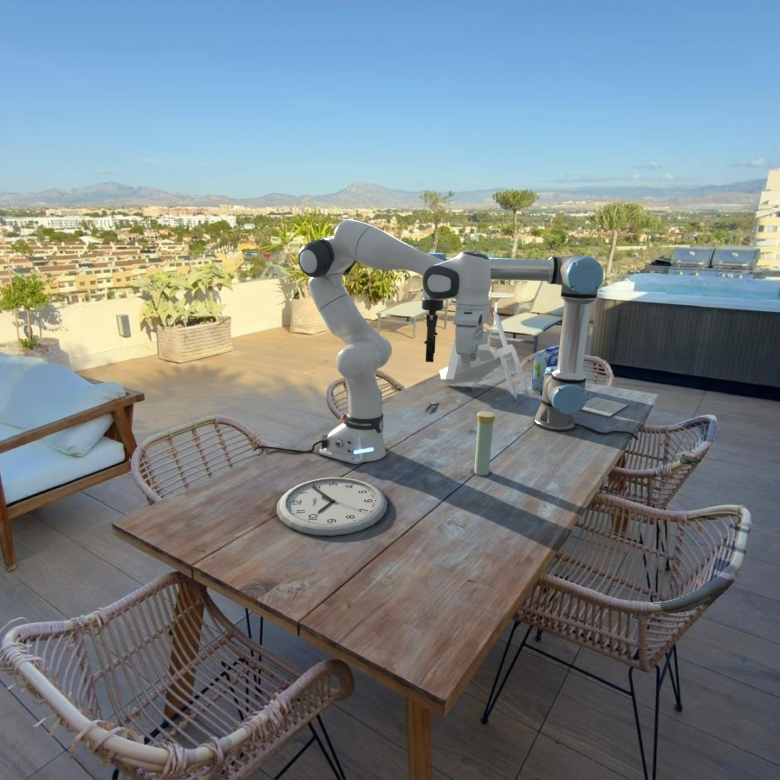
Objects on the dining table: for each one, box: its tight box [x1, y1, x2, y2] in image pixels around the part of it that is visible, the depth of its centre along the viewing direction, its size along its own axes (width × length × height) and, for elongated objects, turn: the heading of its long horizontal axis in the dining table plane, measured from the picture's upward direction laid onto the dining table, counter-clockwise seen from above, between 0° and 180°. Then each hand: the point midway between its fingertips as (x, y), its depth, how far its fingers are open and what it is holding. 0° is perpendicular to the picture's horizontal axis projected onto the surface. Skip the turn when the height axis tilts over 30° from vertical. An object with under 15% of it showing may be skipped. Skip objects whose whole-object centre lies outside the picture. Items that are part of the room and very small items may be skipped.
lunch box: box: [531, 344, 560, 393], centre depth 245 cm, size 26×11×21 cm, turn 134°
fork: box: [425, 396, 439, 412], centre depth 222 cm, size 3×16×2 cm, turn 160°
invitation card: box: [580, 396, 629, 418], centre depth 226 cm, size 21×1×15 cm
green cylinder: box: [473, 420, 494, 476], centre depth 161 cm, size 4×4×19 cm
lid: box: [476, 410, 496, 423], centre depth 158 cm, size 5×5×2 cm
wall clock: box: [276, 476, 388, 537], centre depth 142 cm, size 30×2×30 cm
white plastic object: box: [438, 310, 531, 400], centre depth 245 cm, size 37×45×31 cm
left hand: (469, 364), depth 143 cm, fingers open, 8 cm apart
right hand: (430, 357), depth 190 cm, fingers open, 13 cm apart
